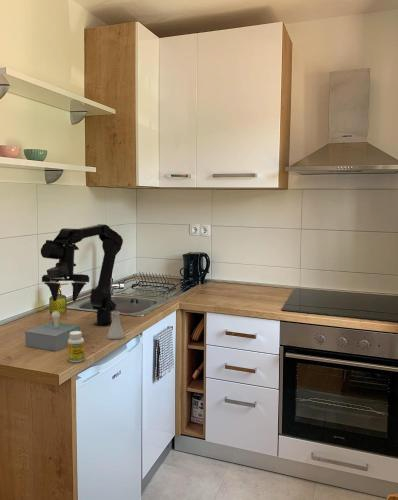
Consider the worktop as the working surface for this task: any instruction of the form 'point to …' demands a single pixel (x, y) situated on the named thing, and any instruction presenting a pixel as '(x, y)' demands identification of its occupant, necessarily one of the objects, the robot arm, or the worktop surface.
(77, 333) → the supplement bottle
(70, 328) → the near flap
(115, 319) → the flask
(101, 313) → the robot arm
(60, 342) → the carton
